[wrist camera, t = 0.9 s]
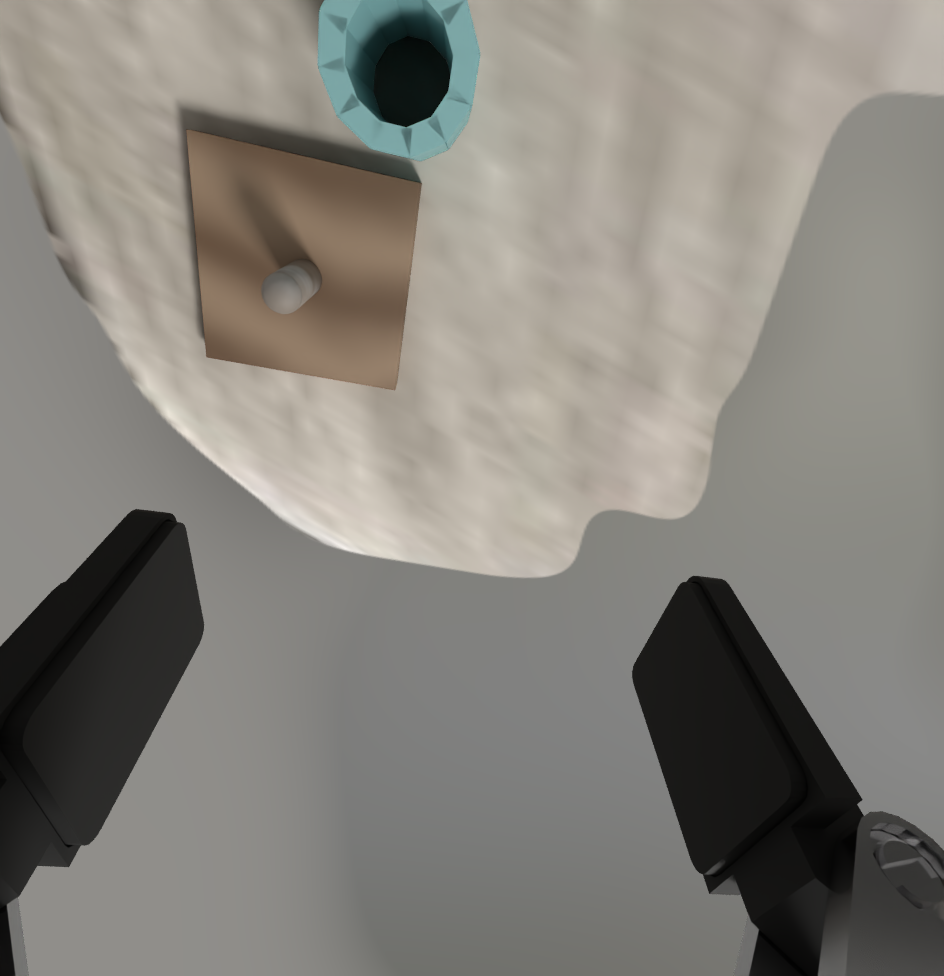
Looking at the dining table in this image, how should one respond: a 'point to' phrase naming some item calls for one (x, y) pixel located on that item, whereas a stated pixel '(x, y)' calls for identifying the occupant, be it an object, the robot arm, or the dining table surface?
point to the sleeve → (360, 44)
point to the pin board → (302, 224)
